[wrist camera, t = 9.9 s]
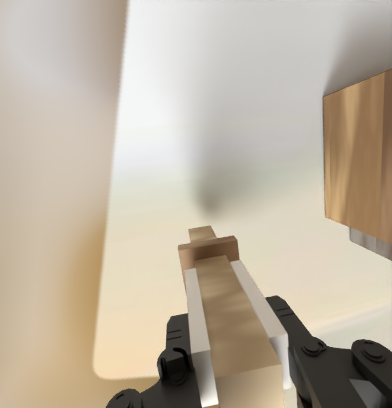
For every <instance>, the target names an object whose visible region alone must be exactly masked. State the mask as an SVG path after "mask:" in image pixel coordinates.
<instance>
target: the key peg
mask: <svg viewBox="0 0 392 408" xmlns="http://www.w3.org/2000/svg"><path fill="white" fill-rule="evenodd" d="M188 230H189V236H190V242H191V243H188V244H183V245H178V251H179V257H180V263H181V268H182V274H183V279H184V285H185V291H186V282H185V270H188V269H193V268H196V273H197V278H198V284H199V289H200V295H201V300H202V306H203V312H204V317H205V323H206V328H207V334H208V339H209V345H210V350H211V361H212V367H213V373H214V379H215V385H216V391H217V398H218V404H219V408H285V401H284V388H283V375H282V364H281V362H280V360H279V358H278V356H277V354H276V352H275V350H274V348H273V346H272V344H271V342H269V340H268V338H267V336H266V334H265V332H264V330H263V328H262V326H261V324H260V322H259V320H258V318H257V316H256V314H255V312H254V310H253V308H252V306H251V304H250V303H249V301H248V299H247V297H246V295H245V293H244V291H243V289H242V287H241V285H240V283H239V281H238V279H237V277H236V275H235V273H234V271H233V269H232V267H231V265H230V262H232V261H237V260H239V251H238V243H237V239H236V238H235V237H234V236H229V237H223V238H217V237H216V235H215V233H214V231H213V229H212V228H211V226H205V227H199V228H193V229H188ZM186 296H187V294H186Z"/></svg>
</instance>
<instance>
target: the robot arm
mask: <svg viewBox="0 0 392 408" xmlns="http://www.w3.org/2000/svg"><path fill="white" fill-rule="evenodd" d="M230 265H231V267H232V269H233V271H234V273H235V275H236V277H237V279H238V281H239V283H240V285H241V287H242V289H243V291H244V293H245V295H246V297H247V299H248V301H249V303H250V304H251V306H252V308H253V310H254V312H255V314H256V316H257V318H258V320H259V322H260V324H261V326H262V328H263V330H264V332H265V334H266V336H267V338H268V340H269V342H271V344H272V346H273V348H274V350H275V352H276V354H277V356H278V358H279V360H280V362H281V364H282V375H283V388H284V389H289V388H291V379H292V381H293V383H294V385H295V387H296V392H297V407H298V408H392V352H391V351H390V350H388V349H387V348H386V347H384V346H382V345H381V344H379V343H376V342H374V341H371V340H365V339H362V340H356V341H355V342H353V344H352V347H351V349H341V348H333V347H329V346H327V345H326V344H325V343H324V342H323V341H321V340H320V339H318V338H316V337H313V336H312V335H311V334H310V333H309V331H308V330H307V329H306V327H305V326H304V325H303V324H302V322H301V321H300V320H299V318H298V317H297V316H296V314H295V313H294V312H293V310H292V309H290V307H289V305H288V304H287V303H286V301H285V300H283V299H282V298H280V297H279V296H272V297H266V298H265V297H264V296H263V294H262V293H261V291H260V290H259V288H258V286H257V285H256V283H255V282H254V280H253V279H252V277H251V275H250V274H249V272H248V271H247V269H246V268H245V266H244V264H243V263H242V261H241V260H237V261H232V262H230ZM185 282H186V294H187V307H188V313H187V314H181V315H176V316H171V318H170V320H169V321H168V323H167V334H166V349H165V350H164V351H163V352H162V353H161V354H160V356H159V358H158V361H157V367H158V372H159V376H160V379H159V381H158V382H157V383H156V384H155V385H153V386H152V387H150V388H149V389H147V390H145V391H144V392H142V393H139V392H138V391H136V390H135V389H126V390H122V391H121V392H119V393H117V394H116V395H115V396H114V397H113V398H112V399H111V400H110V401H109V403H108V405H107V406H106V408H202V407H206V406H211V405H215V404H218V398H217V391H216V385H215V379H214V373H213V367H212V361H211V350H210V345H209V339H208V334H207V328H206V323H205V317H204V312H203V306H202V300H201V295H200V289H199V284H198V278H197V273H196V268H193V269H188V270H185Z"/></svg>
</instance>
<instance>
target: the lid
mask: <svg viewBox="0 0 392 408" xmlns="http://www.w3.org/2000/svg"><path fill="white" fill-rule="evenodd" d="M379 239H380V240H383V241H385V242H388V243H390V244H392V69H391V70H388V71H386V72H385V76H384V106H383V136H382V166H381V195H380V225H379Z"/></svg>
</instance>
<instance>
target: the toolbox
mask: <svg viewBox="0 0 392 408" xmlns="http://www.w3.org/2000/svg"><path fill="white" fill-rule="evenodd" d="M384 76H385V72H383V73H381V74H378V75H376V76H373V77H371V78H369V79H366V80H364V81H361V82H359V83H356V84H354V85H351V86H349V87H347V88H344V89H342V90H339V91H337V92H334V93H332V94H330V95H327V96H325V97H323V118H324V164H325V211H326V218H328V219H331V220H333V221H336V222H338V223H341V224H343V225H346V226H348V227H350V241H352V242H354V243H356V244H358V245H360V246H362V247H364V248H366V249H368V250H371V251H373V252H375V253H377V254H379V255H381V256H383V257H385V258H387V259H389V260H391V261H392V244H390V243H388V242H385V241H383V240H380V239H379V225H380V195H381V166H382V136H383V106H384Z"/></svg>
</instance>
